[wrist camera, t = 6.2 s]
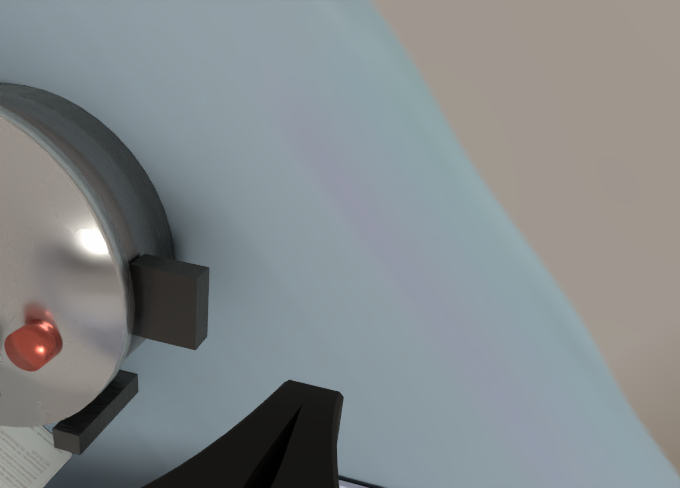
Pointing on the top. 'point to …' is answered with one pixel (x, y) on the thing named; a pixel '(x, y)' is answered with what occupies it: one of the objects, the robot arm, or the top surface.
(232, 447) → the robot arm
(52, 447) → the supplement box
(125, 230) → the cooker pot
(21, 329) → the cooker lid
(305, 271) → the top surface
